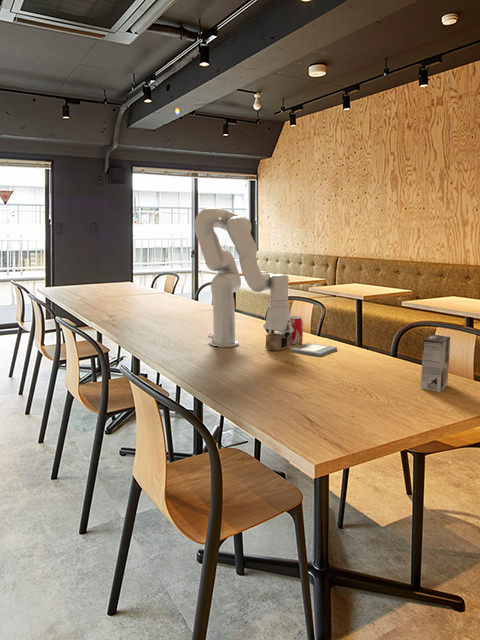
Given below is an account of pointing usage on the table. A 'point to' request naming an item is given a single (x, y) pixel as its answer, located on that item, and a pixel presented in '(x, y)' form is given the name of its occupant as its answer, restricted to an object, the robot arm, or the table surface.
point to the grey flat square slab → (314, 349)
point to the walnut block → (276, 341)
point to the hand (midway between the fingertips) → (277, 345)
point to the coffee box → (435, 363)
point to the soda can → (296, 330)
